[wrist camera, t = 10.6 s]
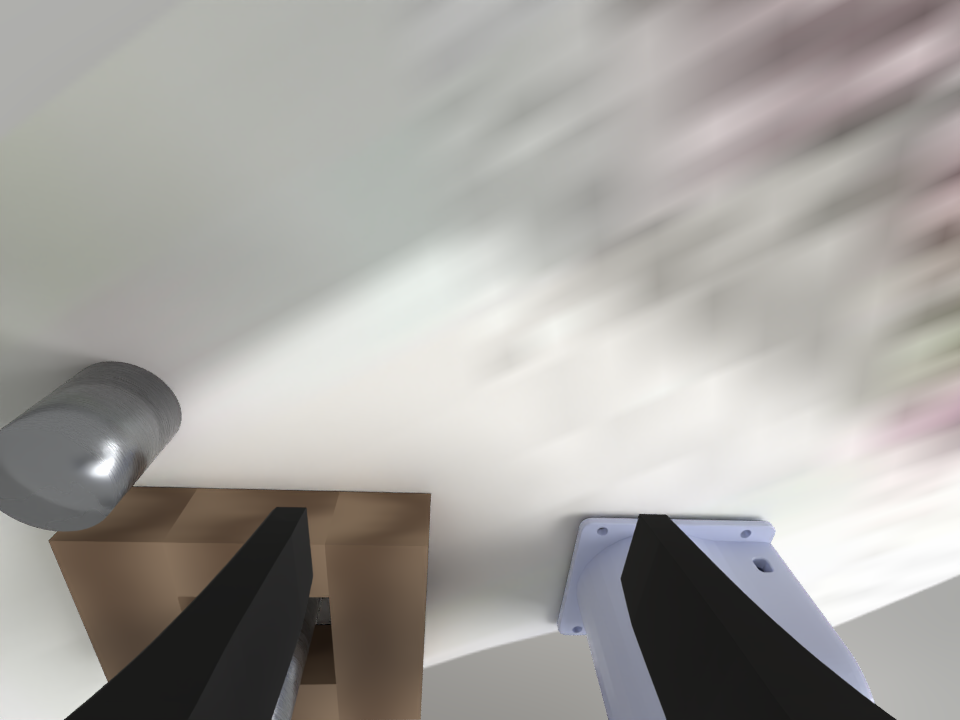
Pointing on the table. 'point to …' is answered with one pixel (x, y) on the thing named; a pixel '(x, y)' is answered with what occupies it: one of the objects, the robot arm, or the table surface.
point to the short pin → (85, 446)
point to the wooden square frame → (336, 574)
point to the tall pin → (297, 663)
